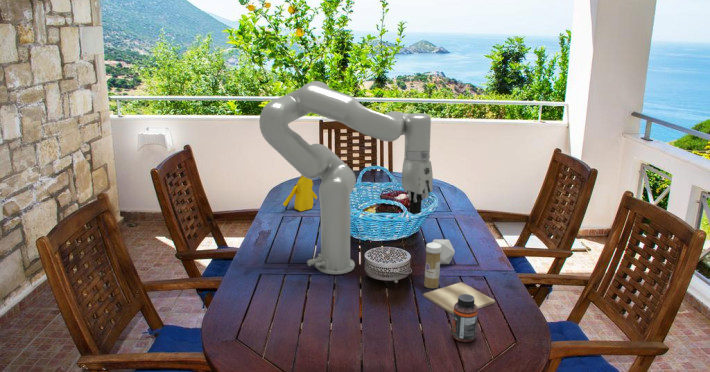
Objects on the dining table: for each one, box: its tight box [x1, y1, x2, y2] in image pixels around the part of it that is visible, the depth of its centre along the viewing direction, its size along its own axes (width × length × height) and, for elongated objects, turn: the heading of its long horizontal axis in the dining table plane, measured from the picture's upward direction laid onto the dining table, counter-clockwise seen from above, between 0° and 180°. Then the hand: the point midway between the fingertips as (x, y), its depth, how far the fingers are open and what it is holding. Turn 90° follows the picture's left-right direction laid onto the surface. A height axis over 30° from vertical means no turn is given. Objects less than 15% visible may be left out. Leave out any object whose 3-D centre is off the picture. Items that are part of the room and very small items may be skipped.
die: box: [432, 238, 456, 265], centre depth 192 cm, size 8×9×10 cm
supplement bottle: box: [451, 294, 479, 343], centre depth 146 cm, size 6×6×11 cm
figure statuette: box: [282, 174, 318, 212], centre depth 240 cm, size 18×8×22 cm, turn 131°
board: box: [422, 281, 496, 315], centre depth 167 cm, size 15×14×1 cm
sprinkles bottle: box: [423, 241, 441, 289], centre depth 174 cm, size 5×5×13 cm
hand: (415, 212), depth 178 cm, fingers closed
